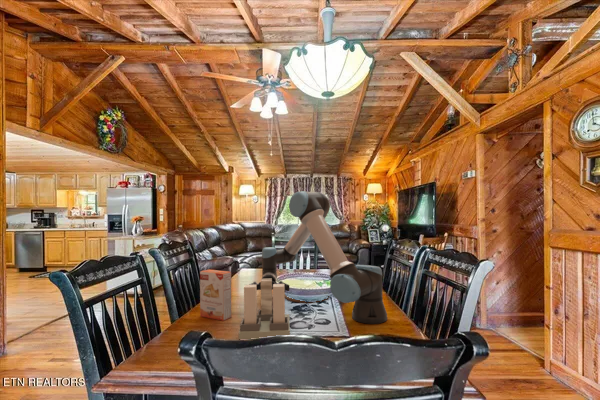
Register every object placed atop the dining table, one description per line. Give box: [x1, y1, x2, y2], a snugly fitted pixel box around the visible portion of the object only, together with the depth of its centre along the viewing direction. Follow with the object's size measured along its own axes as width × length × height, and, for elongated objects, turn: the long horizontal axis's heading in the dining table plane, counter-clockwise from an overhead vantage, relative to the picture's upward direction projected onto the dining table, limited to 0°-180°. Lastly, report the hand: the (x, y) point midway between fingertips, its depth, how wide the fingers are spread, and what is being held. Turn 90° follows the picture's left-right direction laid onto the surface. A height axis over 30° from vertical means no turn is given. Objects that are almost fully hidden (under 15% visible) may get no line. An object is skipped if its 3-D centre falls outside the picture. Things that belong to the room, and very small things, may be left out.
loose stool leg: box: [260, 278, 273, 314], centre depth 133 cm, size 4×4×16 cm
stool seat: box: [238, 284, 291, 340], centre depth 127 cm, size 19×19×19 cm
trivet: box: [285, 295, 329, 304], centre depth 176 cm, size 25×25×2 cm
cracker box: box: [199, 269, 233, 322], centre depth 144 cm, size 14×6×21 cm, turn 62°
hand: (266, 292), depth 135 cm, fingers open, 13 cm apart
